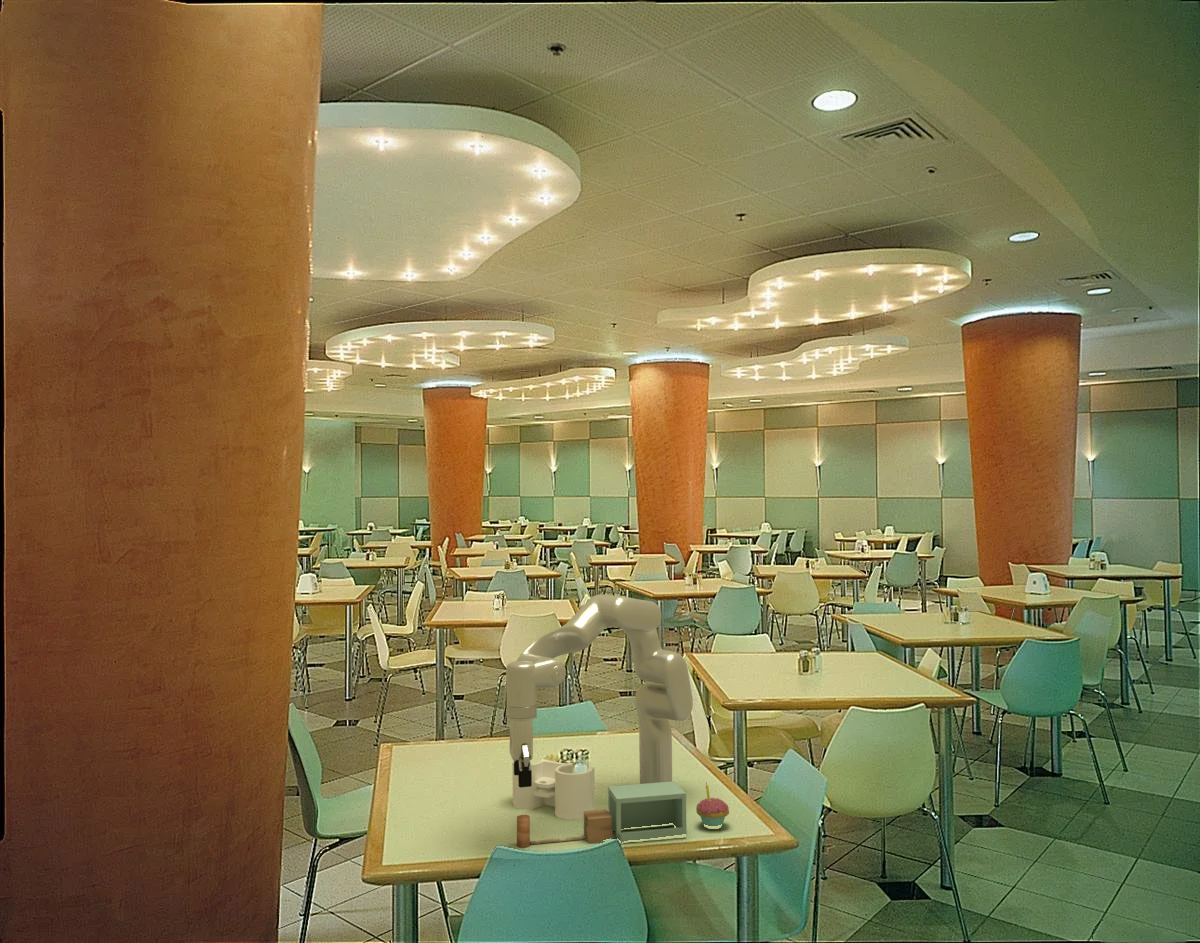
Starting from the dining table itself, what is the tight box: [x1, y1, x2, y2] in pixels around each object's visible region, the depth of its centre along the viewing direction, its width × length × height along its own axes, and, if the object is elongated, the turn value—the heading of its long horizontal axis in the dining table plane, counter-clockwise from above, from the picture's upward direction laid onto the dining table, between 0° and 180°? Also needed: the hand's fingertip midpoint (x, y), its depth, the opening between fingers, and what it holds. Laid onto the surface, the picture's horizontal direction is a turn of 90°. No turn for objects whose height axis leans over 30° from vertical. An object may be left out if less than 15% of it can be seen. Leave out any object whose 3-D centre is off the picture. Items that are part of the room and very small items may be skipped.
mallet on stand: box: [516, 808, 613, 849], centre depth 227 cm, size 6×24×7 cm, turn 103°
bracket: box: [511, 758, 596, 821], centre depth 251 cm, size 25×10×12 cm, turn 58°
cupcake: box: [695, 781, 730, 826], centre depth 236 cm, size 9×8×12 cm
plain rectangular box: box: [607, 780, 688, 843], centre depth 231 cm, size 10×18×11 cm, turn 102°
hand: (522, 780), depth 225 cm, fingers open, 9 cm apart
